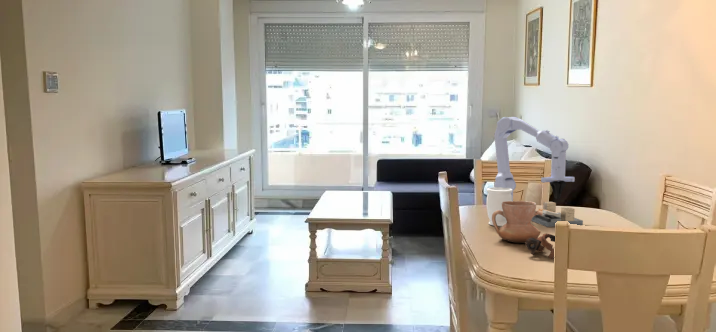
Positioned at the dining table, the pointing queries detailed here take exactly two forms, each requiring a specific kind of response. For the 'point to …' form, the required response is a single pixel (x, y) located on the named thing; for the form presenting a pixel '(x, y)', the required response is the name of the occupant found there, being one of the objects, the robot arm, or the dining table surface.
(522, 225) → the ceramic jug
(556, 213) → the paddle white
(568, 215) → the panel
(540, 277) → the dining table surface
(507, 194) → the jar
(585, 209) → the dining table surface
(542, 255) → the dining table surface
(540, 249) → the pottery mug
